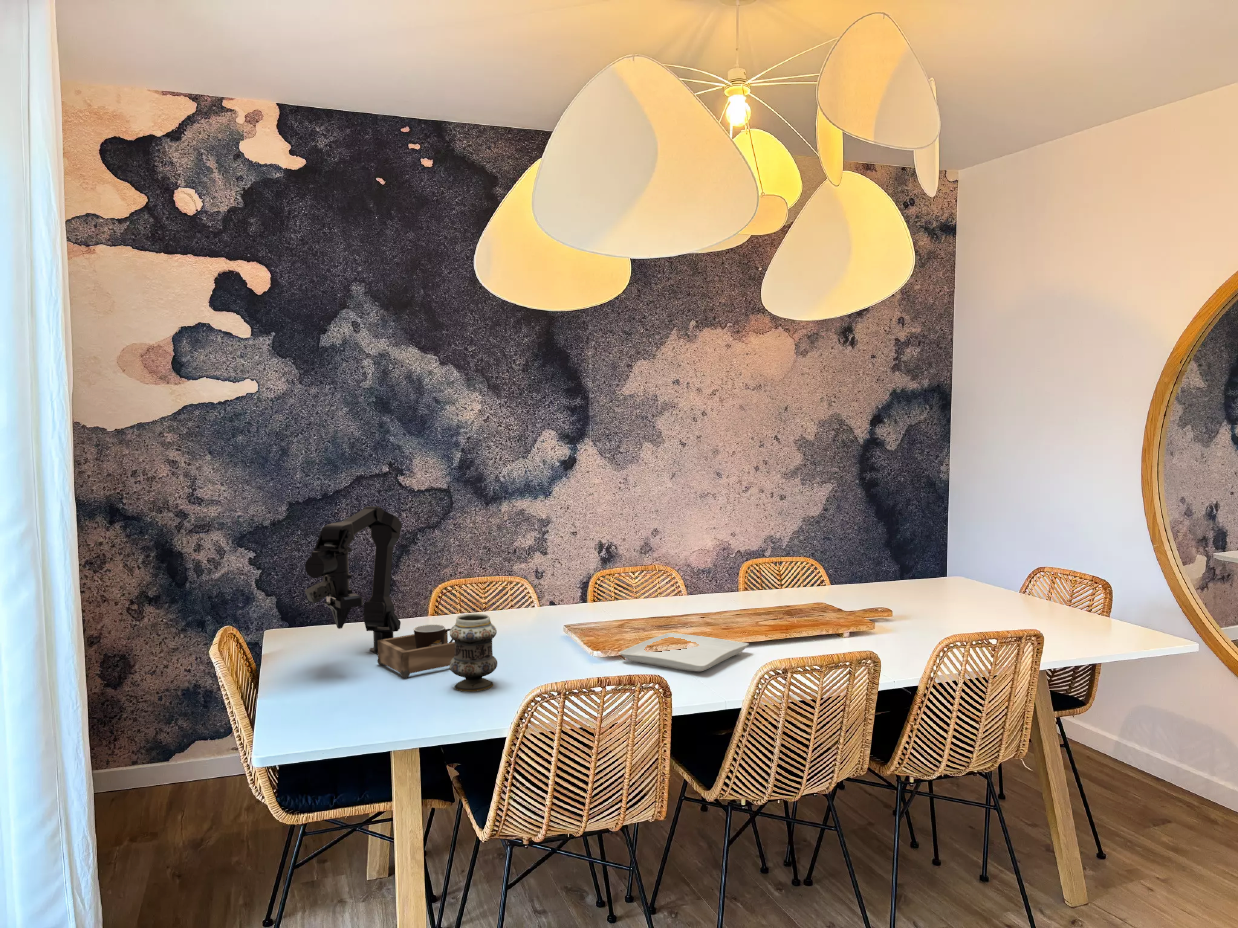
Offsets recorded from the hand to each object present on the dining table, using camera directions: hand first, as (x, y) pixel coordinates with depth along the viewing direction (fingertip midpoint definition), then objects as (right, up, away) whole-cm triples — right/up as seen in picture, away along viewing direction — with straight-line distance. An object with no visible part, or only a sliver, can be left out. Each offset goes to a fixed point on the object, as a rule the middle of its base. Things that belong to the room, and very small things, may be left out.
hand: (339, 628), depth 249 cm
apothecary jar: (+39, -12, -14) cm, 43 cm away
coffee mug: (+24, -11, +8) cm, 28 cm away
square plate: (+94, -11, +9) cm, 95 cm away
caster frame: (+23, -11, +6) cm, 26 cm away
